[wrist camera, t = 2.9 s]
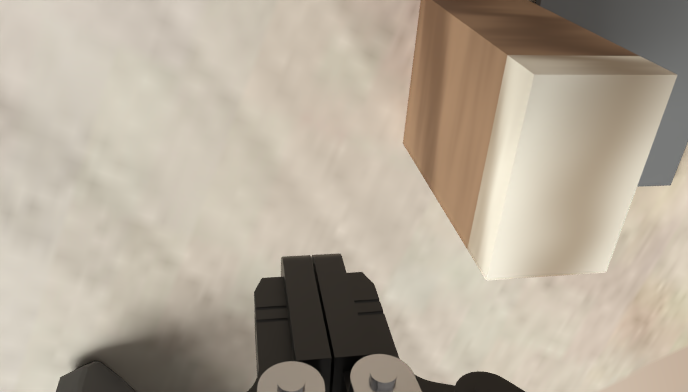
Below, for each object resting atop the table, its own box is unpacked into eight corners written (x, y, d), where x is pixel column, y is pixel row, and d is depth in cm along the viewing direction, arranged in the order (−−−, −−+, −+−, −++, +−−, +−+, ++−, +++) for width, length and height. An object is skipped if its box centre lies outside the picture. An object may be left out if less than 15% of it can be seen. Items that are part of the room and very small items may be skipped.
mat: (494, 187, 35) (498, 191, 34) (551, -70, 28) (556, -69, 27) (665, 181, 37) (670, 185, 36) (758, -60, 30) (766, -58, 29)
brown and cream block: (403, 143, 32) (486, 280, 22) (421, -8, 28) (534, 74, 18) (488, 141, 33) (605, 272, 23) (518, -5, 29) (677, 74, 19)
